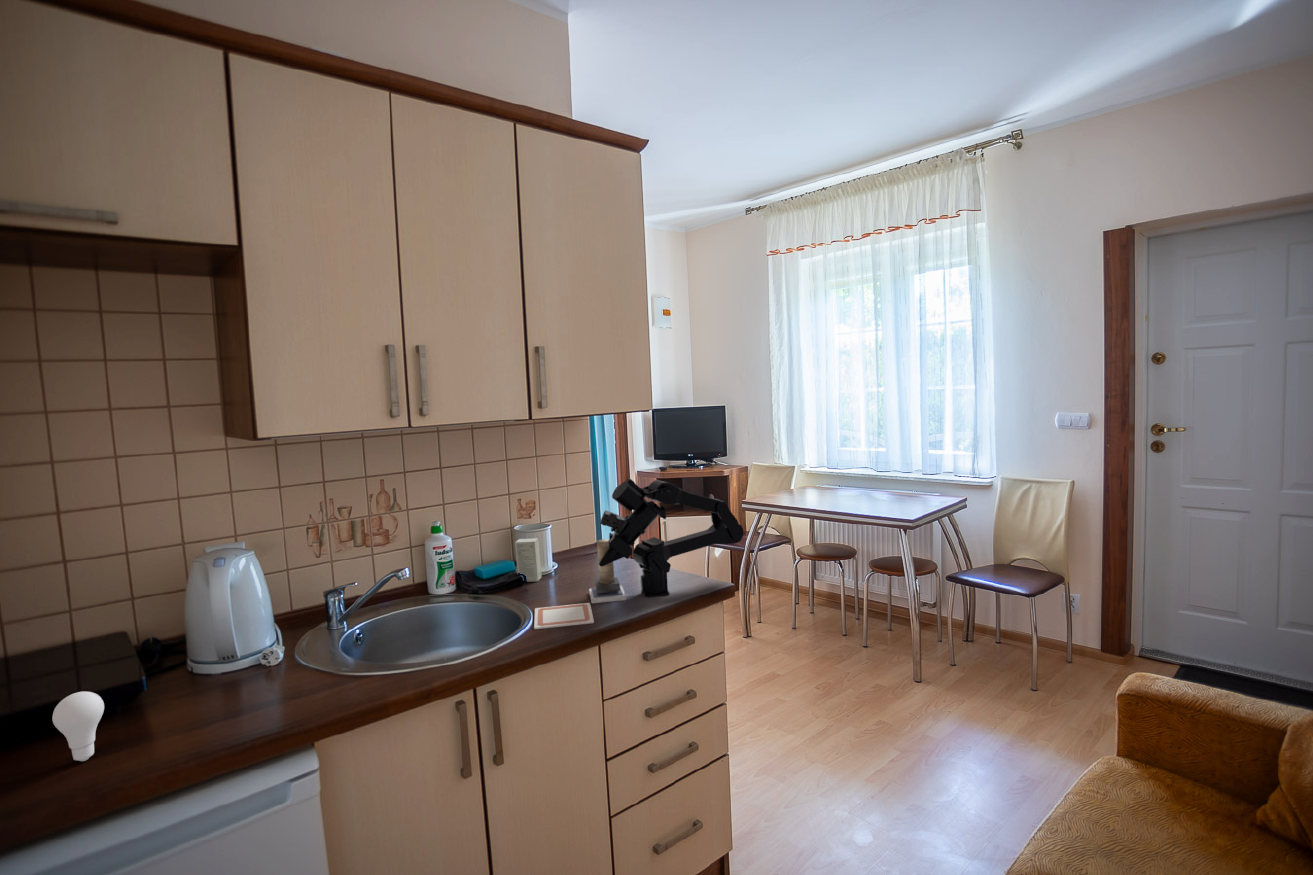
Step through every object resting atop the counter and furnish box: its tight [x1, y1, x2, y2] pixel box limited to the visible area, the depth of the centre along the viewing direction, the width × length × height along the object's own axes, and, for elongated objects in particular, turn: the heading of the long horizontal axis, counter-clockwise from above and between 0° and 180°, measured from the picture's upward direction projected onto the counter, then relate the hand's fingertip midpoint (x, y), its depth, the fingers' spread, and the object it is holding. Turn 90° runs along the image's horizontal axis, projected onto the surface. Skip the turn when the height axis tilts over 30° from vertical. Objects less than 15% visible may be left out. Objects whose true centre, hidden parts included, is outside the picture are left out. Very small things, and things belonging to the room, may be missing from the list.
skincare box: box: [514, 537, 543, 583], centre depth 191 cm, size 6×4×12 cm
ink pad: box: [588, 585, 627, 604], centre depth 172 cm, size 9×9×2 cm
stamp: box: [594, 538, 621, 593], centre depth 172 cm, size 6×6×13 cm
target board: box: [533, 602, 595, 630], centre depth 159 cm, size 14×14×1 cm
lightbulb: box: [52, 691, 105, 762], centre depth 102 cm, size 6×6×11 cm
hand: (600, 563), depth 172 cm, fingers closed on stamp, 4 cm apart
